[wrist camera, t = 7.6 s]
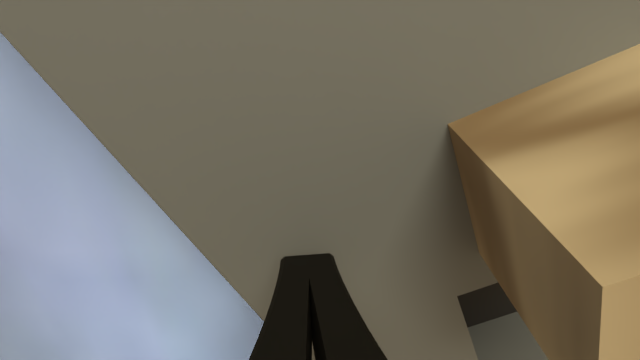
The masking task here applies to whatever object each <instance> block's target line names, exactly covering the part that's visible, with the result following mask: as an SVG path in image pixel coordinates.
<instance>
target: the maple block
mask: <svg viewBox="0 0 640 360" xmlns="http://www.w3.org/2000/svg"><path fill="white" fill-rule="evenodd" d="M448 128H449V132H450V136H451V140H452V144H453V148H454V152H455V156H456V161H457V165H458V169H459V173H460V177H461V181H462V185H463V189H464V193H465V197H466V201H467V205H468V209H469V213H470V217H471V222H472V226H473V230H474V234H475V238H476V242H477V246H478V250H479V253H480V255H481V257H482V258H483V260H484V261H485V263H486V264H487V266H488V267H489V269H490V270H491V272H492V273H493V275H494V277H495V278H496V280H497V281H498V283H499V284H500V286H501V287H502V289H503V290H504V292H505V293H506V295H507V297H508V298H509V300H510V301H511V303H512V304H513V306H514V307H515V309H516V310H517V312H518V313H519V315H520V317H521V318H522V320H523V321H524V323H525V324H526V326H527V327H528V329H529V330H530V332H531V333H532V335H533V337H534V338H535V340H536V341H537V343H538V344H539V346H540V347H541V349H542V350H543V352H544V353H545V355H546V357H547V358H548V360H640V44H638V45H636V46H633V47H631V48H629V49H626V50H624V51H621V52H619V53H617V54H614V55H612V56H609V57H607V58H605V59H602V60H600V61H597V62H595V63H593V64H590V65H588V66H586V67H583V68H581V69H578V70H576V71H574V72H571V73H569V74H566V75H564V76H562V77H559V78H557V79H554V80H552V81H550V82H547V83H545V84H542V85H540V86H538V87H535V88H533V89H530V90H528V91H526V92H523V93H521V94H518V95H516V96H514V97H511V98H509V99H506V100H504V101H502V102H499V103H497V104H494V105H492V106H490V107H487V108H485V109H482V110H480V111H478V112H475V113H473V114H470V115H468V116H466V117H463V118H461V119H458V120H456V121H454V122H451V123H449V124H448Z"/></svg>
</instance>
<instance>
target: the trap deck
mask: <svg viewBox="0 0 640 360" xmlns="http://www.w3.org/2000/svg"><path fill="white" fill-rule="evenodd" d="M0 32H1V33H2V34H3V35H4V37H5V38H6V39H7V40H8V41H9V42H10V43H11V44H12V45H13V46H14V48H15V49H16V50H17V51H18V52H19V53H20V54H21V55H22V56H23V57H24V58H25V60H26V61H27V62H28V63H29V64H30V65H31V66H32V67H33V68H34V69H35V71H36V72H37V73H38V74H39V75H40V76H41V77H42V78H43V79H44V80H45V82H46V83H47V84H48V85H49V86H50V87H51V88H52V89H53V90H54V91H55V93H56V94H57V95H58V96H59V97H60V98H61V99H62V100H63V101H64V102H65V103H66V105H67V106H68V107H69V108H70V109H71V110H72V111H73V112H74V113H75V114H76V116H77V117H78V118H79V119H80V120H81V121H82V122H83V123H84V124H85V125H86V127H87V128H88V129H89V130H90V131H91V132H92V133H93V134H94V135H95V136H96V137H97V139H98V140H99V141H100V142H101V143H102V144H103V145H104V146H105V147H106V148H107V150H108V151H109V152H110V153H111V154H112V155H113V156H114V157H115V158H116V159H117V161H118V162H119V163H120V164H121V165H122V166H123V167H124V168H125V169H126V170H127V172H128V173H129V174H130V175H131V176H132V177H133V178H134V179H135V180H136V181H137V182H138V184H139V185H140V186H141V187H142V188H143V189H144V190H145V191H146V192H147V193H148V195H149V196H150V197H151V198H152V199H153V200H154V201H155V202H156V203H157V204H158V206H159V207H160V208H161V209H162V210H163V211H164V212H165V213H166V214H167V215H168V216H169V218H170V219H171V220H172V221H173V222H174V223H175V224H176V225H177V226H178V227H179V229H180V230H181V231H182V232H183V233H184V234H185V235H186V236H187V237H188V238H189V240H190V241H191V242H192V243H193V244H194V245H195V246H196V247H197V248H198V249H199V251H200V252H201V253H202V254H203V255H204V256H205V257H206V258H207V259H208V260H209V261H210V263H211V264H212V265H213V266H214V267H215V268H216V269H217V270H218V271H219V272H220V274H221V275H222V276H223V277H224V278H225V279H226V280H227V281H228V282H229V283H230V285H231V286H232V287H233V288H234V289H235V290H236V291H237V292H238V293H239V294H240V295H241V297H242V298H243V299H244V300H245V301H246V302H247V303H248V304H249V305H250V306H251V308H252V309H253V310H254V311H255V312H256V313H257V314H258V315H259V316H260V317H261V319H262V320H263V321H265V318H266V315H267V312H268V309H269V306H270V303H271V300H272V297H273V293H274V290H275V286H276V283H277V278H278V274H279V269H280V261H281V259H282V258H283V257H285V256H297V255H311V254H324V253H330V254H331V255H333V256H334V259H335V262H336V265H337V268H338V270H339V273H340V275H341V277H342V280H343V282H344V284H345V286H346V288H347V290H348V292H349V294H350V296H351V298H352V300H353V302H354V304H355V306H356V308H357V309H358V311H359V313H360V315H361V317H362V318H363V320H364V322H365V324H366V325H367V327H368V329H369V331H370V332H371V334H372V336H373V337H374V339H375V340H376V342H377V344H378V345H379V347H380V348H381V350H382V351H383V353H384V355H385V356H386V358H387V359H388V360H548V358H547V357H546V355H545V353H544V352H543V350H542V349H541V347H540V346H539V344H538V343H537V341H536V340H535V338H534V337H533V335H532V333H531V332H530V330H529V329H528V327H527V326H526V324H525V323H524V321H523V320H522V318H521V317H520V315H519V313H518V312H517V310H516V309H515V307H514V306H513V304H512V303H511V301H510V300H509V298H508V297H507V295H506V293H505V292H504V290H503V289H502V287H501V286H500V284H499V283H498V281H497V280H496V278H495V277H494V275H493V273H492V272H491V270H490V269H489V267H488V266H487V264H486V263H485V261H484V260H483V258H482V257H481V255H480V253H479V250H478V246H477V242H476V238H475V234H474V230H473V226H472V222H471V217H470V213H469V209H468V205H467V201H466V197H465V193H464V189H463V185H462V181H461V177H460V173H459V169H458V165H457V161H456V156H455V152H454V148H453V144H452V140H451V136H450V132H449V128H448V124H449V123H451V122H454V121H456V120H458V119H461V118H463V117H466V116H468V115H470V114H473V113H475V112H478V111H480V110H482V109H485V108H487V107H490V106H492V105H494V104H497V103H499V102H502V101H504V100H506V99H509V98H511V97H514V96H516V95H518V94H521V93H523V92H526V91H528V90H530V89H533V88H535V87H538V86H540V85H542V84H545V83H547V82H550V81H552V80H554V79H557V78H559V77H562V76H564V75H566V74H569V73H571V72H574V71H576V70H578V69H581V68H583V67H586V66H588V65H590V64H593V63H595V62H597V61H600V60H602V59H605V58H607V57H609V56H612V55H614V54H617V53H619V52H621V51H624V50H626V49H629V48H631V47H633V46H636V45H638V44H640V0H0ZM312 360H315V356H314V350H313V343H312Z"/></svg>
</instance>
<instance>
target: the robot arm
mask: <svg viewBox="0 0 640 360" xmlns="http://www.w3.org/2000/svg"><path fill="white" fill-rule="evenodd" d="M312 343H313V350H314V356H315V360H388V359H387V358H386V356H385V355H384V353H383V351H382V350H381V348H380V347H379V345H378V344H377V342H376V340H375V339H374V337H373V336H372V334H371V332H370V331H369V329H368V327H367V325H366V324H365V322H364V320H363V318H362V317H361V315H360V313H359V311H358V309H357V308H356V306H355V304H354V302H353V300H352V298H351V296H350V294H349V292H348V290H347V288H346V286H345V284H344V282H343V280H342V277H341V275H340V273H339V270H338V268H337V265H336V262H335V259H334V256H333V255H331V254H330V253H324V254H311V255H297V256H285V257H283V258H282V259H281V261H280V269H279V274H278V278H277V283H276V286H275V290H274V293H273V297H272V300H271V303H270V306H269V309H268V312H267V315H266V318H265V321H264V323H263V326H262V329H261V332H260V334H259V337H258V339H257V342H256V344H255V347H254V349H253V351H252V354H251V356H250V359H249V360H312Z"/></svg>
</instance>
